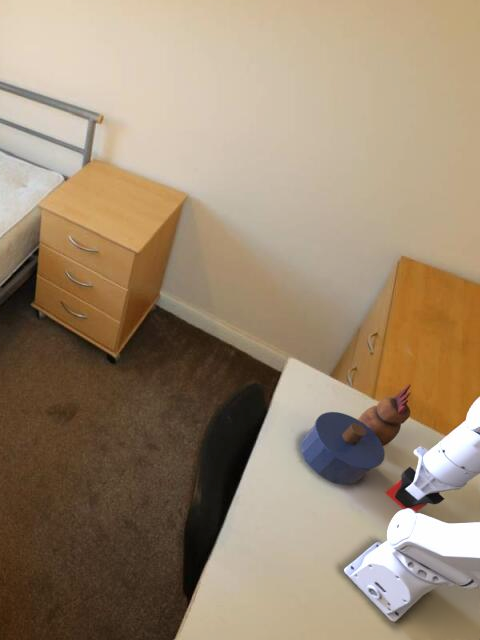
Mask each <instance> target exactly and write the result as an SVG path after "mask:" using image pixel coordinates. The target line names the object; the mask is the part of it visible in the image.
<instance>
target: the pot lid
mask: <svg viewBox="0 0 480 640" xmlns="http://www.w3.org/2000/svg"><path fill="white" fill-rule="evenodd" d="M314 425H315V433H316V436H317V438H318V440H319V441H320V443H321V444H322V446H323V447H324V448H325V449H326V450H327V451H328V452H329V453H330V454H331V455H332V456H334V457H335V458H336V459H338V460H339V461H341V462H343V463H345V464H347V465H349V466H352V467H355V468H359V469H371V470H373V469H376V468H378V467H379V466H381V465H382V463H383V461H384V460H385V455H386V454H385V448H384V446H383V445H382V443H381V441H380V440H379V438H378V437H377V436H376V434H375V433H374V432H373V431H372V430H371V429H370V428H369V427H368V426H366V425H365V424H364V423H362V422H361V421H359V420H358V418H355V417H354V416H352V415H349V414H347V413H343V412H342V413H341V412H338V411H328V412H324V413H322V414H320V415H319V416H318V417H317V418H316V420H315V422H314Z"/></svg>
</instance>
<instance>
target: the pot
mask: <svg viewBox="0 0 480 640" xmlns="http://www.w3.org/2000/svg"><path fill="white" fill-rule="evenodd" d="M300 451H301V454H302V457H303V459H304V461H305V462H306V464H307V465H308V466H309V467H310V468H311V469H312V471H314V472H315V473H316V474H317V475H319V476H320V477H322V478H323V479H325V480H327V481H329V482H331V483H334V484H337V485H343V486H344V485H345V486H347V485H348V486H350V485H353V484H355V483H357V482H358V481H359V480H361V479H362V478H363V477H364V476H365V475H367V474H368V473H369V472H370V471H371V470H372V469H359V468H355V467H352V466H349V465H347V464H345V463H343V462H341V461H339V460H338V459H336V458H335V457H334V456H332V455H331V454H330V453H329V452H328V451H327V450H326V449H325V448H324V447H323V446H322V444H321V443H320V441H319V440H318V438H317V436H316V433H315V424H314V425H313V426H312V427H311V428H310V430H309V431H307V433H306V434H305V435H304V436H303V438H302V440H301V442H300Z"/></svg>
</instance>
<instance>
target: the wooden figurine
mask: <svg viewBox="0 0 480 640" xmlns="http://www.w3.org/2000/svg"><path fill="white" fill-rule="evenodd" d="M410 388H411V384H408V385H406V386H405V387H404V388H403V389H402V390H400V391H399V392H398V393H397V394H396V395H395V396H388V397H385V398H383V399H382V400H380V401H379V402H378V403H377V404H376V405H372V406H370V407H369V408H367V409H366V410H365V411H364V412H363V413H362V414H361V415H360V417H358V418H357V420H359V421H361V422H362V423H364V424H365V425H366V426H368V427H369V428H370V429H371V430H372V431H373V432H374V433H375V434H376V436H377V437H378V438H379V440H380V441H381V443H382V445H383V447H385V446H387V445H388V444H389V443H391V442H392V441H393V440H395V438H396V437H397V435H398V434H399V433H400V430H401V427H402V424H404V423H406V421H408V419H409V418H410V416H411V409H410V407H409V405H408V404H407V403H409V400H408V398H409V396H411V392H408V391H409V389H410Z"/></svg>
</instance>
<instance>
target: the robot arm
mask: <svg viewBox="0 0 480 640" xmlns="http://www.w3.org/2000/svg"><path fill="white" fill-rule="evenodd" d="M413 454H414V455H415V456H416V457H417V458H418V463H417V466H416V470H414V468H412V467H411V466H408V467H407V468H406V469H404V470H403V471H402V473H401V475H400V478H401V479H402V482H401V486H400V488H399V489H398V491H397V493H396V495H395V498H396V499H397V500H398V501H399V502H400V503H401V504H402V505H404V506H405V507H406V508H408V509H404V510H403V509H401V510H399V511H397V512H396V513H395V514H394V516H393V517H392V518H391V520H390V522H389V524H388V526H387V529H386V530H387V532H386V539H387V540H385V541H384V542H383V543H382V542H380V541H376V542H375V543H374V544H372V545H371V546H370V547H369V548H367V550H365V551H364V552H363V553H361V554H360V555H359V556H358V557H356V558H355V560H353V561H352V562H351V563H350V564H348V565H347V566H346V567H345V568H344V569H343V572H344V574H346V576H348V577H349V579H350V580H351V581H352V582H353V584H355V585H356V586H357V587H358V588H359V589H360V590H361V592H362V593H363V594H365V595H366V596H367V598H368V599H369V600H370V601H371V602H372V603H373V604H374V605H375V606H376V607H377V608H378V609H379V610H380V611H381V612H382V613H383V614H384V615H385V616H386V617H387V619H388V620H389V621H391V622H392V623H395V622H397V621H398V620H399V619H400V618H401V617H402V616H403V615H404V614H405V613H406V612H407V611H408V610H409V609H411V608H412V607H413V606H414V605H415V604H416V603H417V602H418V601H419V600H420V599H421V598H422V597H423V596H424V595H426V594H428V593H429V592H431V591H433V590H435V589H437V588H438V587H440V586H443V585H444V586H447V587H449V588H452V587H454V586H456V585H457V586H458V587H459V588H461V589H464V590H466V591H469V590H474V589H477V588H478V587H480V522H460V523H459V522H458V523H448V522H445V521H442V520H440V519H437V518H434V517H431V516H429V515H426V514H423V513H420V512H419V513H417V512H415V511H414V510H412V509H409V507H413V506H416V505H419V504H425V503H428V504H427V505H429V504H430V505H439V504H440V503H442V502H443V501H444V500H445V499H446V498H445V497H444V496H443V495H442V494H441V493H443V492H449V491H450V492H451V491H458V490H461V489H463V488H464V487H466V485H467V484H468V482H469V481H471V480H472V479H474V478H475V477H477V476H478V475H480V396H479V397H477V399H475V401H474V402H473V403H472V405H471V406H470V407H469V409H468V411H467V414H466V416H465V420H464V421H463V422H462V423H461V424H460V425H458V426H457V427H456V428H454V429H453V430H452V431H450V432H449V434H447V435H446V436H444V437H443V438H442V439H441V440H440V441H439V442H437V443H436V444H435V445H434V446H433V447H431V448H430V449H429V450H428V449H427V448H426V447H424V446H422V445H420V446H419V447H417V448H415V449H414V450H413ZM401 479H400V480H401ZM438 492H440V494H439V493H438Z"/></svg>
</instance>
